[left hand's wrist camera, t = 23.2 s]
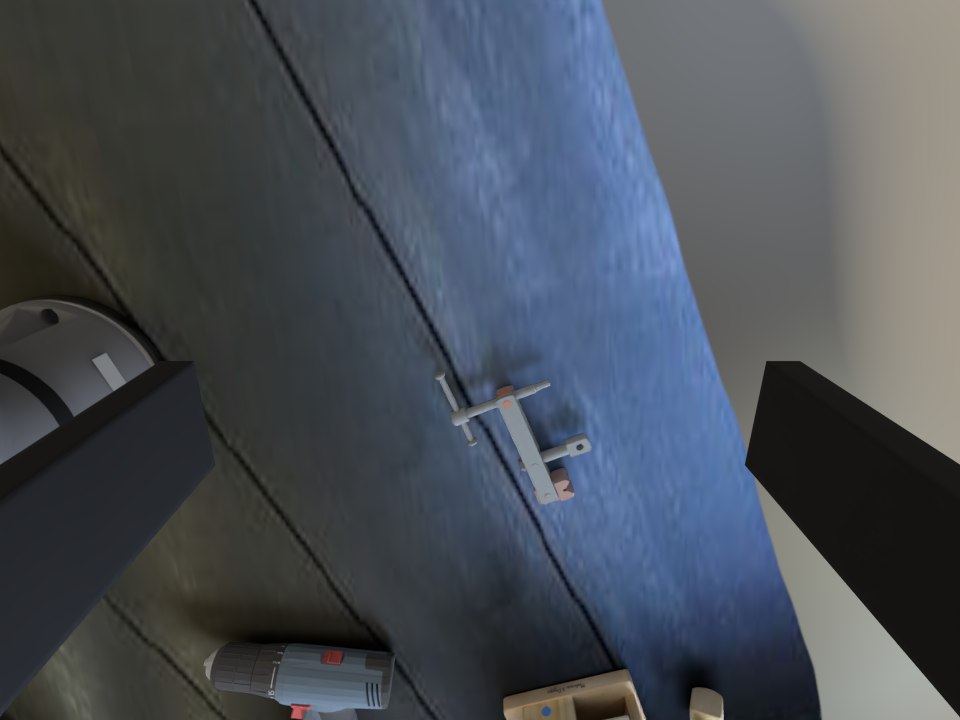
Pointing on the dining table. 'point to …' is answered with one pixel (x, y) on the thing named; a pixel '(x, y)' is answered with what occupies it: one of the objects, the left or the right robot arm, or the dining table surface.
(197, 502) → the dining table surface
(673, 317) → the dining table surface
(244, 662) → the power drill
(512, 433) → the clamp
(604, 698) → the pounding bench toy
